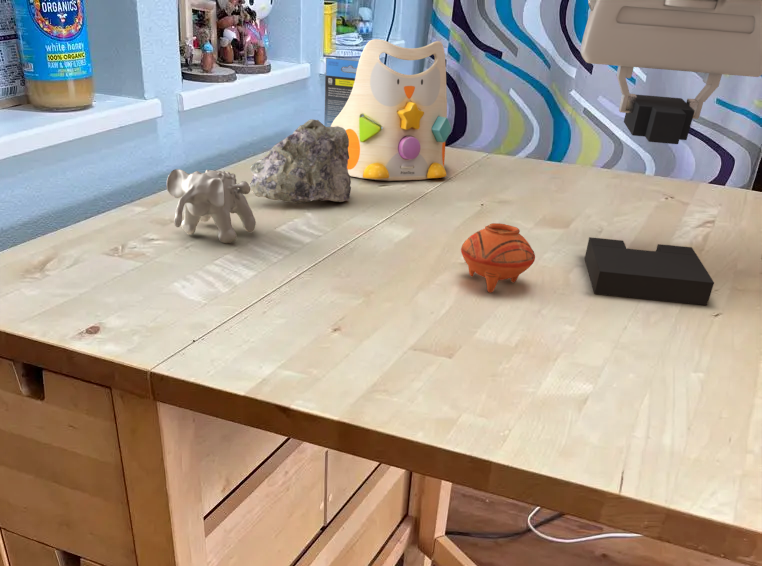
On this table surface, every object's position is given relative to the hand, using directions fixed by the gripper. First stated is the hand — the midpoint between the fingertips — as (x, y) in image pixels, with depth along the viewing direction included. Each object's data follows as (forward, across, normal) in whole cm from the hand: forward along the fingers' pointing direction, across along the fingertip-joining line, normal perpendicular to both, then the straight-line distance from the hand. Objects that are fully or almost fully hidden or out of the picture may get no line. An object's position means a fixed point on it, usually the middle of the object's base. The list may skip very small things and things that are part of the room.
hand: (658, 115), depth 92 cm
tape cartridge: (+15, -42, +46) cm, 64 cm away
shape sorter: (+15, -32, +26) cm, 43 cm away
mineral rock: (+15, -43, +6) cm, 46 cm away
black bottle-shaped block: (+2, 0, -1) cm, 2 cm away
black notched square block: (+15, 0, -12) cm, 19 cm away
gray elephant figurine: (+15, -50, -14) cm, 54 cm away
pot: (+15, -16, -18) cm, 29 cm away
